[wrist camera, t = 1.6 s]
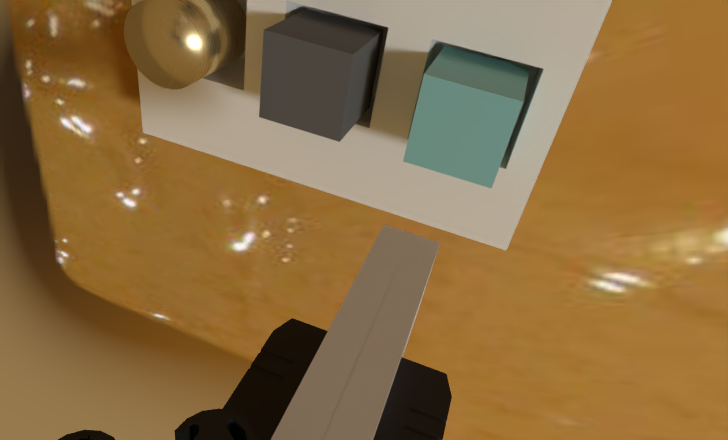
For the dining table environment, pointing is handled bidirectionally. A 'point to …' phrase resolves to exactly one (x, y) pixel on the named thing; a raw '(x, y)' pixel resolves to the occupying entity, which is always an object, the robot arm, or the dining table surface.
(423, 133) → the teal cube
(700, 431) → the dining table surface
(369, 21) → the white slotted tray
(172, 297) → the dining table surface
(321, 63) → the dark grey cube
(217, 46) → the gold metal cylinder
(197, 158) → the dining table surface
